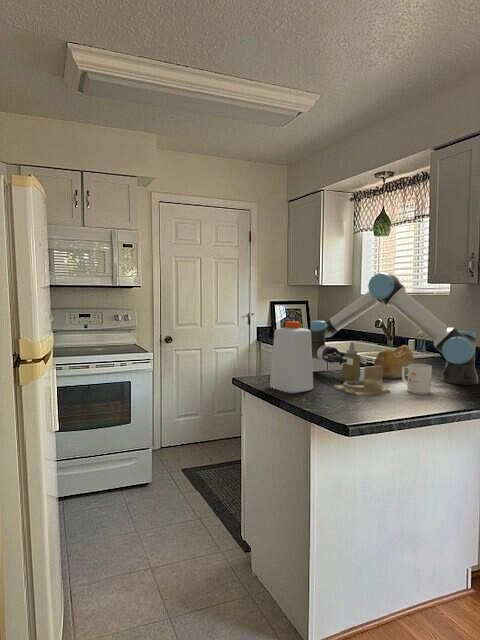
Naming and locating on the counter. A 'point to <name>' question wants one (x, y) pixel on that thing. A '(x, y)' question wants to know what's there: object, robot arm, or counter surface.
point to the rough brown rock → (394, 361)
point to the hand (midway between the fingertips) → (358, 361)
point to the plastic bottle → (292, 359)
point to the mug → (418, 378)
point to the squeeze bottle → (351, 370)
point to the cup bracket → (366, 383)
